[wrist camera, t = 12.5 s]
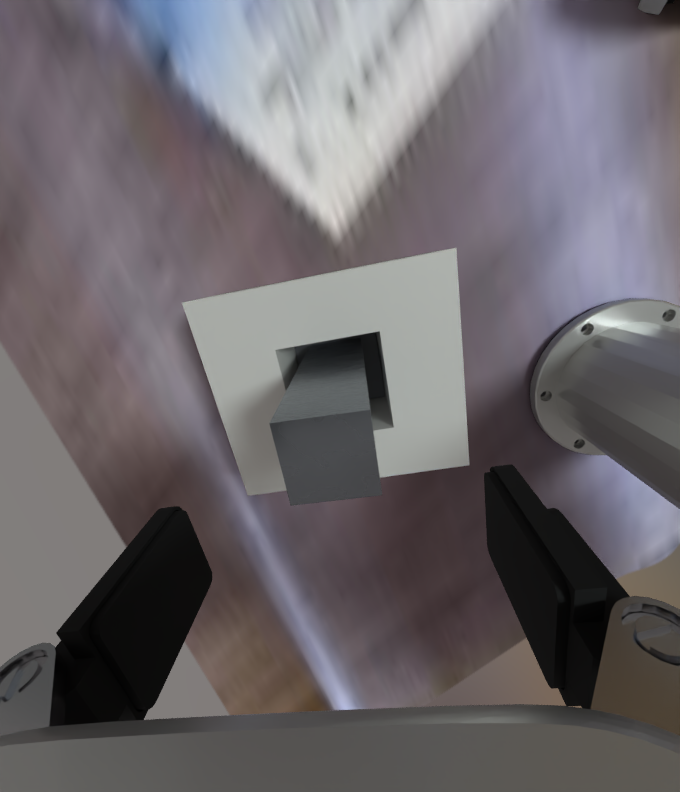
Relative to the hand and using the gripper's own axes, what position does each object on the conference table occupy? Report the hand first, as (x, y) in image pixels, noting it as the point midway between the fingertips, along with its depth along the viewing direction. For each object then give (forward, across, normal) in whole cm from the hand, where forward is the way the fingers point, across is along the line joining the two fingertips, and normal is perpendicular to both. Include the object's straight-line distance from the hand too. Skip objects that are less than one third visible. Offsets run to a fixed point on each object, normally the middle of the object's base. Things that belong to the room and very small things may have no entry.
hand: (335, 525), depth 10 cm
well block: (+18, +1, 0) cm, 18 cm away
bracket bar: (+18, +1, 0) cm, 18 cm away
